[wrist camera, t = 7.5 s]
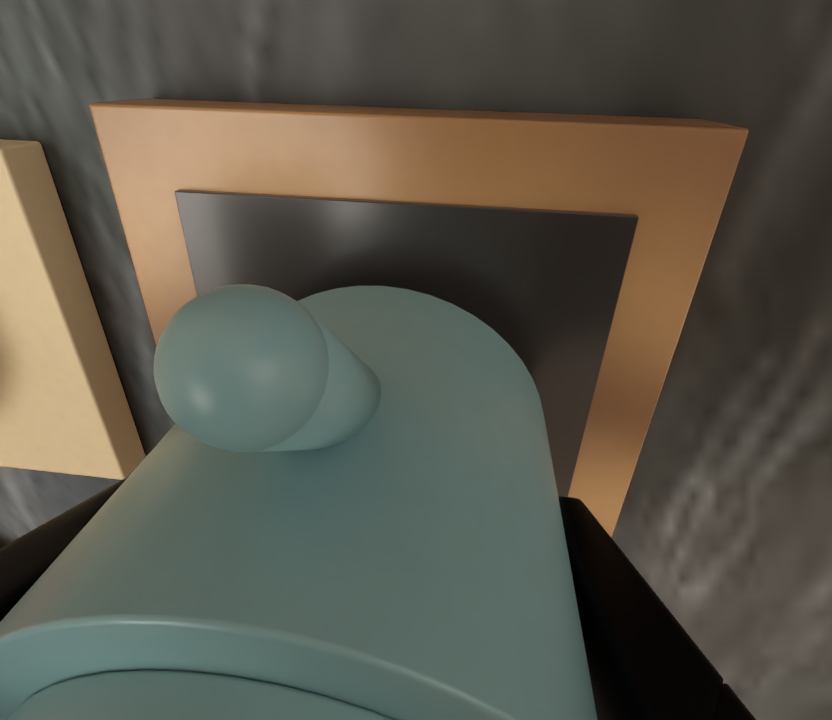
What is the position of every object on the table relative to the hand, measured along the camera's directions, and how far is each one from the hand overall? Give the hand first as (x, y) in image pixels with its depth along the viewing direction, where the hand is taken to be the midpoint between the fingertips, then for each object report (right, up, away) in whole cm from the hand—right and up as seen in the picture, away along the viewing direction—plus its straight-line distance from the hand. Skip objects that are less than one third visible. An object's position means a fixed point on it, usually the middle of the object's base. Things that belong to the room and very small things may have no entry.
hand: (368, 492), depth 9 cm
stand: (+1, +3, +4) cm, 5 cm away
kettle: (0, +1, +2) cm, 2 cm away
